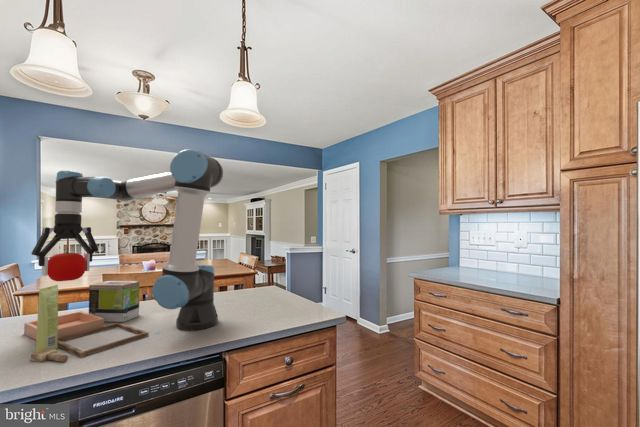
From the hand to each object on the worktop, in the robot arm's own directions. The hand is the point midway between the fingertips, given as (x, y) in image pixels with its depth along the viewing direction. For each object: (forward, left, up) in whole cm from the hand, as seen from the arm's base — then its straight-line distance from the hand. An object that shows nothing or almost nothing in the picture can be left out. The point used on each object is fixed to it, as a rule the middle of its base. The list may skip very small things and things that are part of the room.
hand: (66, 273), depth 111 cm
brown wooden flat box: (0, 0, -21) cm, 21 cm away
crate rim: (-20, -3, -21) cm, 29 cm away
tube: (-16, +10, -21) cm, 28 cm away
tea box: (+1, -17, -21) cm, 27 cm away
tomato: (0, 0, -3) cm, 3 cm away
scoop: (-24, +12, -21) cm, 34 cm away
